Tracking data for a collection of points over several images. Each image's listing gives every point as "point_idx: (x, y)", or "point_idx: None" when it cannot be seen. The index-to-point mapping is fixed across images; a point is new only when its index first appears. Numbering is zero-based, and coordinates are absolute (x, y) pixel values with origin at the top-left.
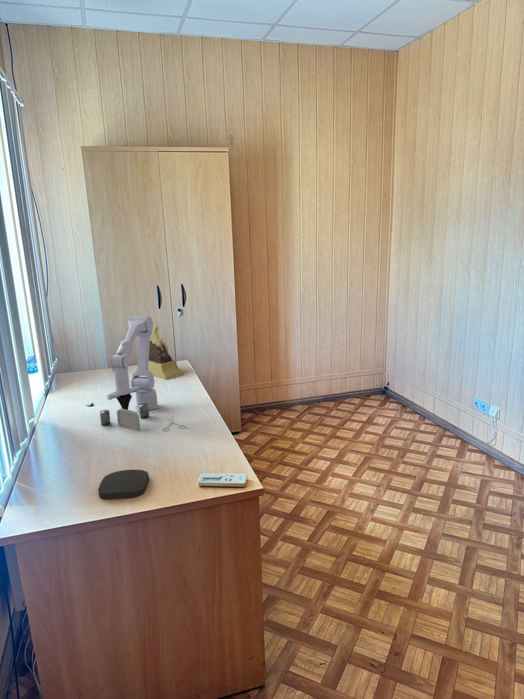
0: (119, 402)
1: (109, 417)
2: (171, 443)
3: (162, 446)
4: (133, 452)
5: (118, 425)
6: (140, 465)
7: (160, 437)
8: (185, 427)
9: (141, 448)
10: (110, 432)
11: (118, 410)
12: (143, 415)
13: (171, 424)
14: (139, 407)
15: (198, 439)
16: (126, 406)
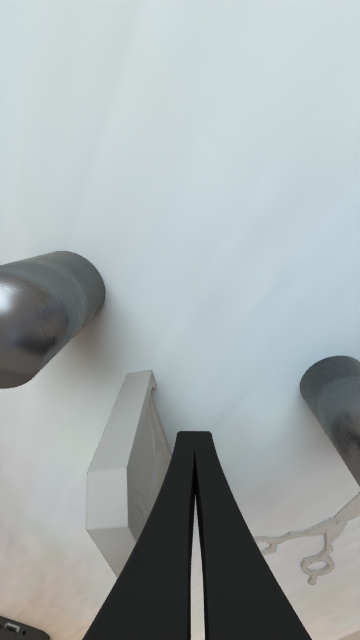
0: (132, 559)
1: (68, 341)
2: None
3: None
4: (67, 575)
5: (127, 378)
6: (55, 613)
7: (194, 566)
8: (314, 576)
9: (99, 574)
10: (52, 419)
11: (90, 515)
12: (317, 419)
13: (314, 533)
14: (355, 451)
15: None
16: (199, 530)
